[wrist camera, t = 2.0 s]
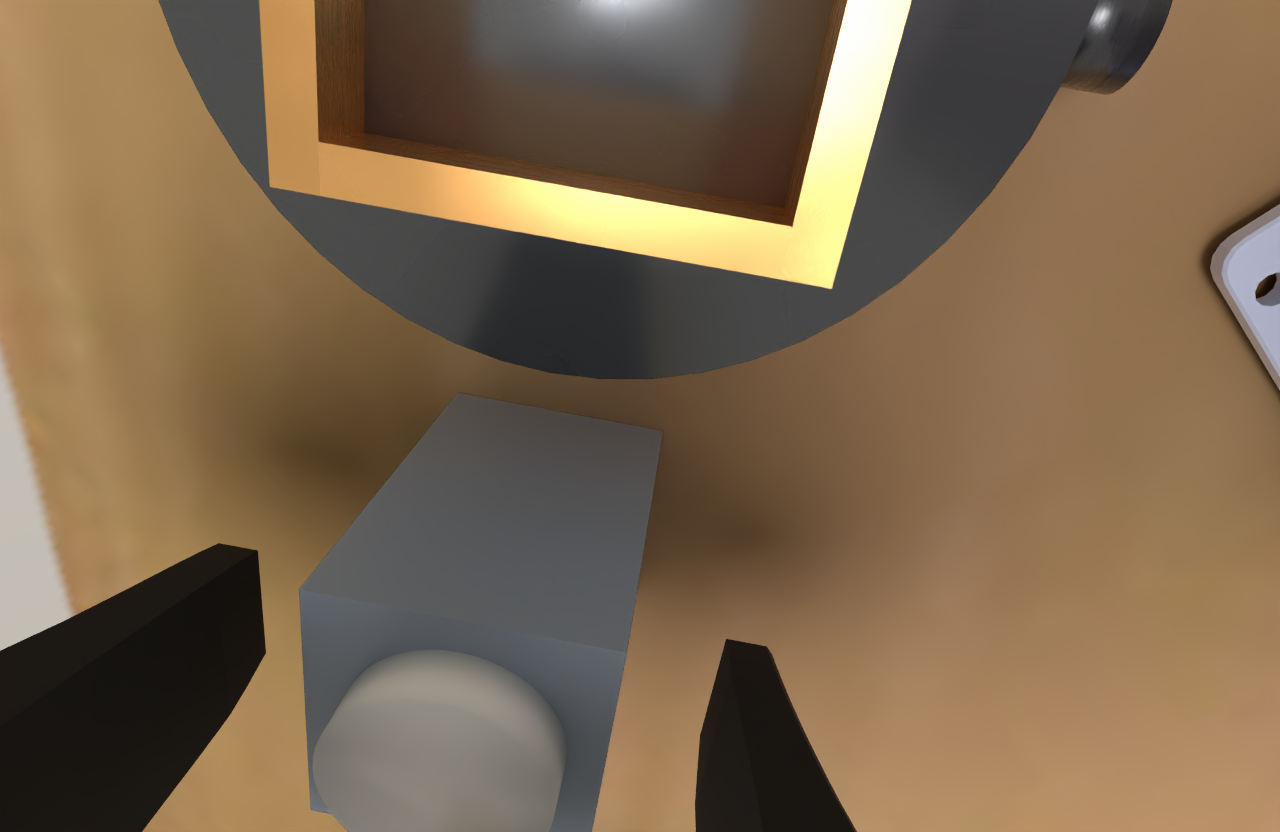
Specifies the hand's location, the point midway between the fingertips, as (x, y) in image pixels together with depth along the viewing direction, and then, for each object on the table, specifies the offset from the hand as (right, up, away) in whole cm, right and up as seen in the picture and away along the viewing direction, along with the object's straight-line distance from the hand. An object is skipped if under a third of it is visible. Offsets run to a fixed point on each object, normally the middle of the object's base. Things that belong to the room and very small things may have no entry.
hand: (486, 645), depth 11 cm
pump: (+1, +2, +4) cm, 4 cm away
